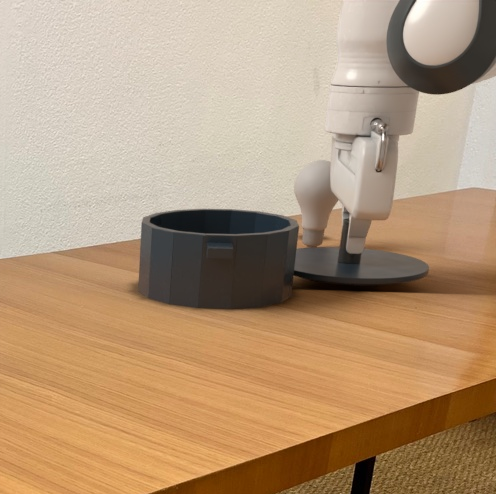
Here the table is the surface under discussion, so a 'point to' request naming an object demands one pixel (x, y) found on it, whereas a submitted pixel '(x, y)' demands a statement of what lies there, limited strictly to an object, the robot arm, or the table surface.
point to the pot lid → (356, 265)
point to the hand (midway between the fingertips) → (351, 249)
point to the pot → (217, 258)
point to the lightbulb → (314, 200)
